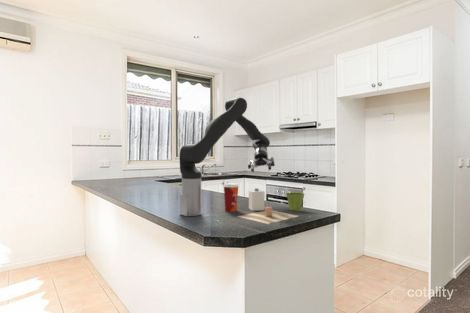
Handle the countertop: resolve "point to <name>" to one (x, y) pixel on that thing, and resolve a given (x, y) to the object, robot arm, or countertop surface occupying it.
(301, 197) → the plant pot
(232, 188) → the paper cup
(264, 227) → the countertop surface
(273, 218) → the board
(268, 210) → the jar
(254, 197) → the white upright block
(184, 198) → the robot arm
